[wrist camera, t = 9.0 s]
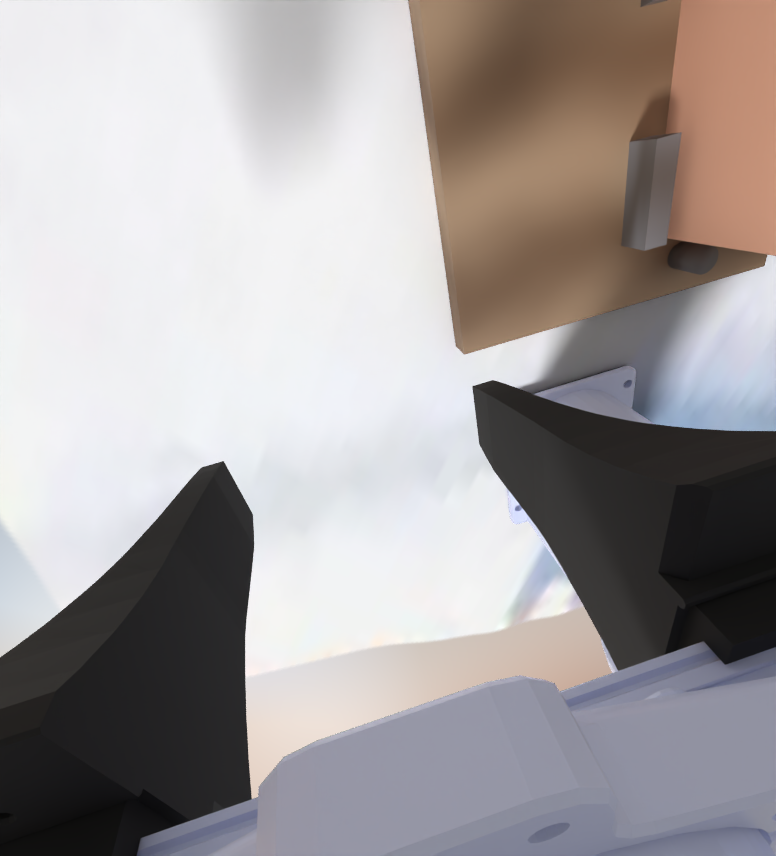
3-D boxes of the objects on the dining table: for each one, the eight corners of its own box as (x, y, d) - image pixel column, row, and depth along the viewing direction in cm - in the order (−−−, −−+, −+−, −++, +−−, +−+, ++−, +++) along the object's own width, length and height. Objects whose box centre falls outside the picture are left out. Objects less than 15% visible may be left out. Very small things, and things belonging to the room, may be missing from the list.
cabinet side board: (742, 261, 22) (794, 271, 20) (456, 345, 21) (476, 366, 19) (888, -361, 12) (1022, -481, 10) (373, -257, 12) (394, -363, 9)
